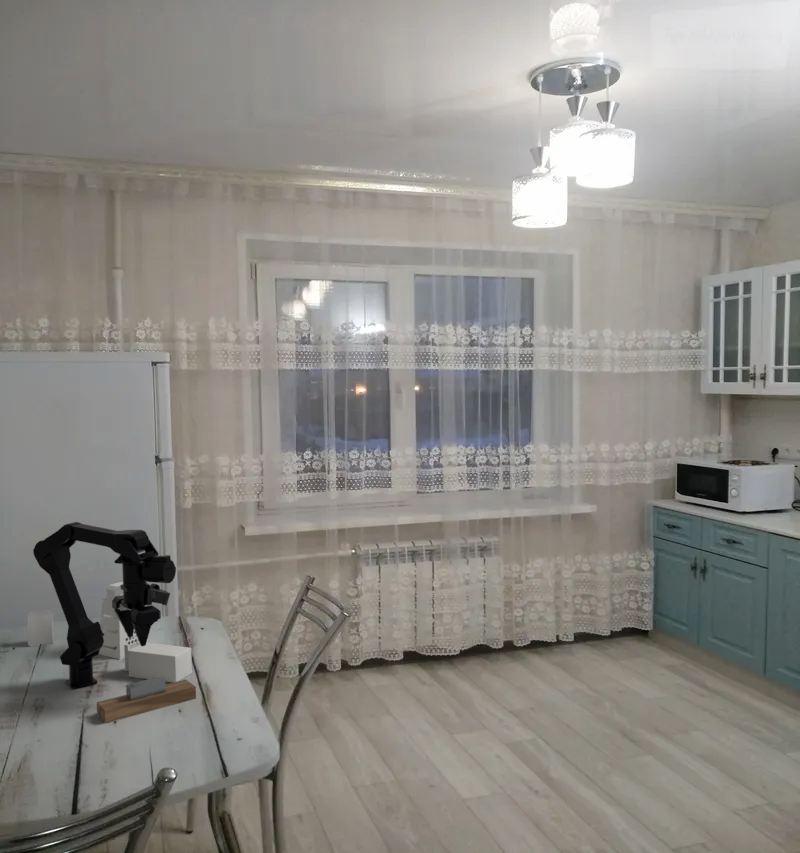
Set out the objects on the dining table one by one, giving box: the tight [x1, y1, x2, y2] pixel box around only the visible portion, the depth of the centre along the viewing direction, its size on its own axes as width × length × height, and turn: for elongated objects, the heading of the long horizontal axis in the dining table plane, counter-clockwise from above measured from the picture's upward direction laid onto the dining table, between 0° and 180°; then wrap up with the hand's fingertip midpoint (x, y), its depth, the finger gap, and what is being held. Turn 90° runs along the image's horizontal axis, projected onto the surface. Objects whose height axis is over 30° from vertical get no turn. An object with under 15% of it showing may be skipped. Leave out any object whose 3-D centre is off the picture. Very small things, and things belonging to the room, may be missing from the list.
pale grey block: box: [26, 609, 55, 646], centre depth 236 cm, size 4×7×10 cm, turn 109°
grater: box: [98, 580, 150, 660], centre depth 228 cm, size 10×10×20 cm
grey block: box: [125, 676, 166, 701], centre depth 188 cm, size 3×8×6 cm, turn 128°
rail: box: [96, 679, 197, 724], centre depth 188 cm, size 6×22×3 cm, turn 128°
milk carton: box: [124, 642, 193, 683], centre depth 209 cm, size 7×7×19 cm
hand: (136, 641), depth 199 cm, fingers open, 9 cm apart
